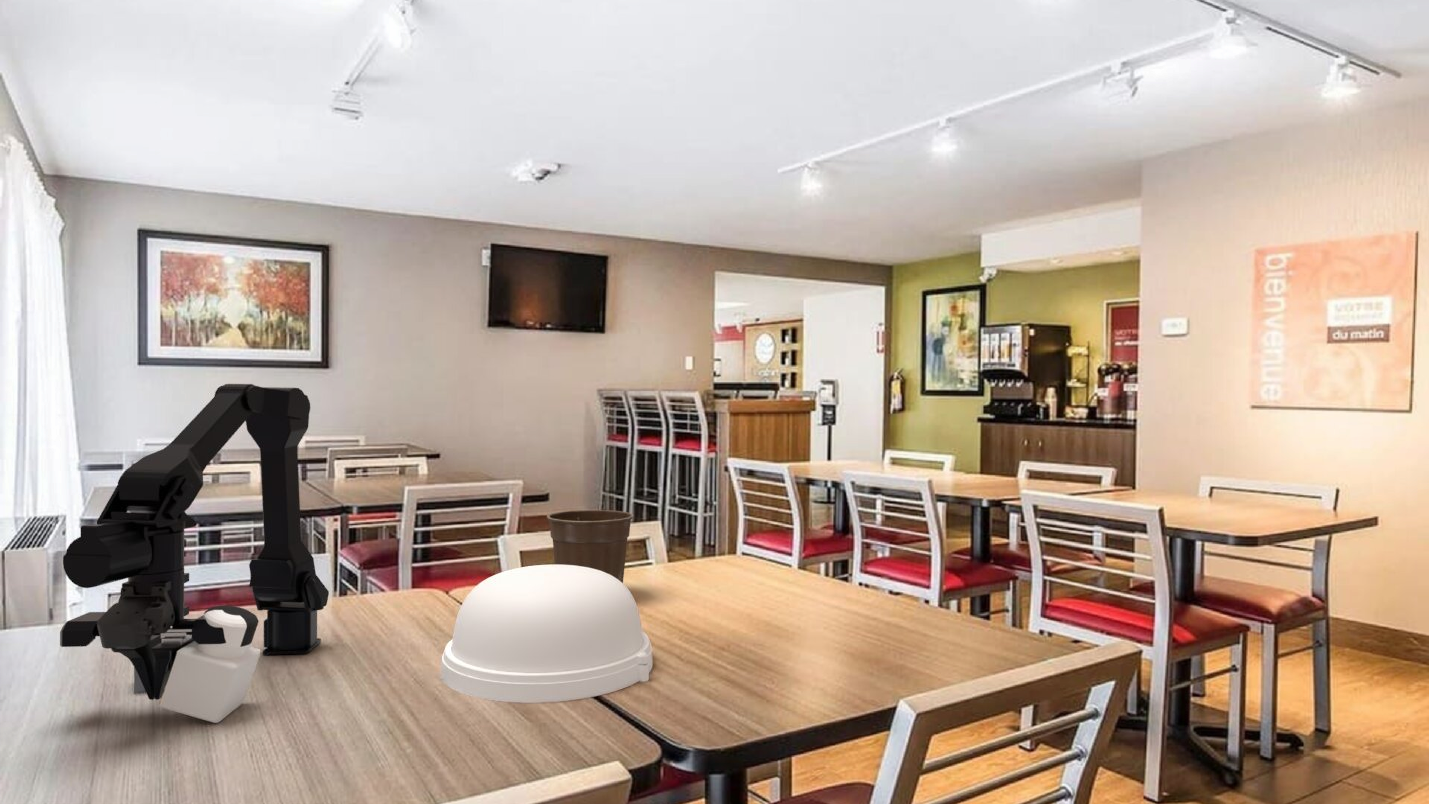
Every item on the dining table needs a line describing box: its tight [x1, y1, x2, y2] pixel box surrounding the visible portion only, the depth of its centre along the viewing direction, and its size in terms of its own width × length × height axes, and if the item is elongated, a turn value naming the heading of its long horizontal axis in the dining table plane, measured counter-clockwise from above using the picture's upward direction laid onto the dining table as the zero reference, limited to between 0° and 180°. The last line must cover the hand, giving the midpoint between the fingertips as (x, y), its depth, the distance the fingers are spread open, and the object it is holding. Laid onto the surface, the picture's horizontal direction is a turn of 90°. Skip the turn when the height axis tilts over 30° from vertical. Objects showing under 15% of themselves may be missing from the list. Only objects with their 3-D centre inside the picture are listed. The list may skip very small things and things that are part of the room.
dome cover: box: [440, 564, 654, 704], centre depth 126 cm, size 32×30×14 cm
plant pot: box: [546, 509, 634, 584], centre depth 166 cm, size 16×16×16 cm
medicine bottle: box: [158, 605, 262, 724], centre depth 106 cm, size 7×7×12 cm
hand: (156, 698), depth 106 cm, fingers closed
